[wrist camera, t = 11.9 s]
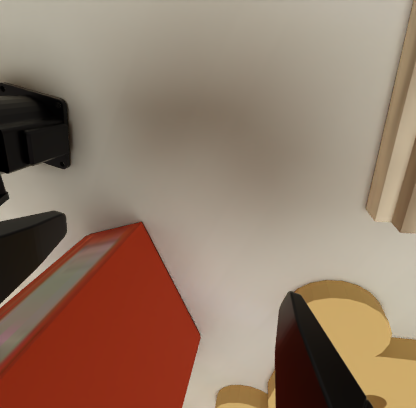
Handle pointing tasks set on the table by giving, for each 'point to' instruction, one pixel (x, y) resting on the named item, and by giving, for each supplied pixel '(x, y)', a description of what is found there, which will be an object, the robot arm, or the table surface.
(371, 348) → the decorative plaque
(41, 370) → the file binder
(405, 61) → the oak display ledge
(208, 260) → the table surface
